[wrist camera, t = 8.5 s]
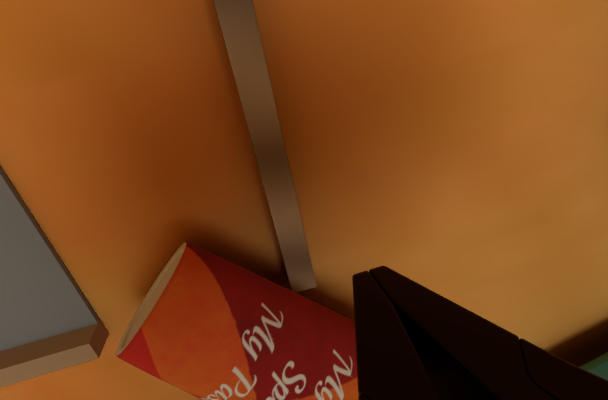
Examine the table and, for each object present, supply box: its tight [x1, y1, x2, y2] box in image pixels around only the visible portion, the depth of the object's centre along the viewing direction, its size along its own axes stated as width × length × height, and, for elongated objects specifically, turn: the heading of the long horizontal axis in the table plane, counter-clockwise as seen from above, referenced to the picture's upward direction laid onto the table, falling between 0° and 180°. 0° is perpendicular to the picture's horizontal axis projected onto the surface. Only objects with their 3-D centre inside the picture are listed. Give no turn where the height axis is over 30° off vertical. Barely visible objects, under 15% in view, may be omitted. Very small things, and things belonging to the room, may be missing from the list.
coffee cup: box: [116, 242, 359, 400], centre depth 19 cm, size 8×8×15 cm
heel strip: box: [214, 0, 316, 293], centre depth 18 cm, size 16×2×2 cm, turn 12°
